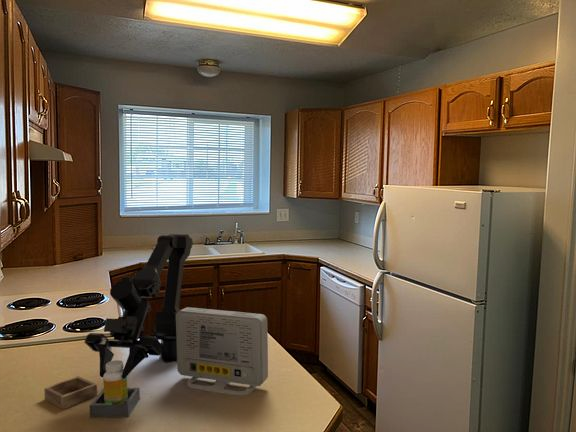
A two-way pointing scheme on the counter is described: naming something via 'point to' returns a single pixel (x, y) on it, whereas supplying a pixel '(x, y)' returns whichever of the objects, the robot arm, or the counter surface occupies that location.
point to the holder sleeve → (65, 401)
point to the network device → (222, 348)
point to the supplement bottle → (115, 383)
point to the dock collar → (114, 405)
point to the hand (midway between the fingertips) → (111, 377)
